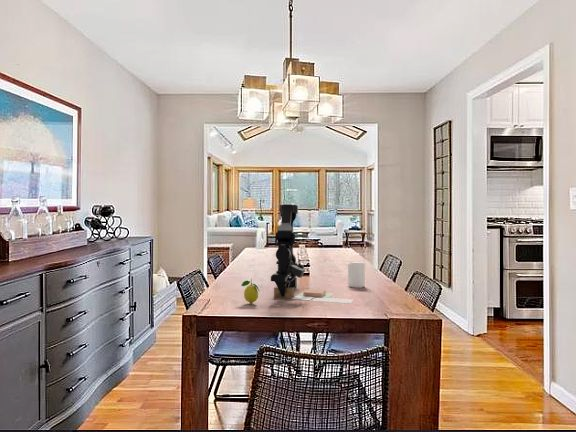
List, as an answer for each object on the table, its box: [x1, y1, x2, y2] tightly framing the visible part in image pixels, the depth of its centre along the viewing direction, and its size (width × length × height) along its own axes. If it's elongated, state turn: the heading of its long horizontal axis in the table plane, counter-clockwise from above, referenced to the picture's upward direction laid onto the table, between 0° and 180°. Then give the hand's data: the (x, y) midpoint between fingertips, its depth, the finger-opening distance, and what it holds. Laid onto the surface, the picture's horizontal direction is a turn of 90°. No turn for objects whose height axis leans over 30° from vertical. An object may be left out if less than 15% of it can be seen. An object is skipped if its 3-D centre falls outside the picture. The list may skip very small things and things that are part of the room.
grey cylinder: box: [347, 260, 366, 289], centre depth 250 cm, size 8×8×12 cm
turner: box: [273, 285, 315, 302], centre depth 217 cm, size 16×7×4 cm, turn 73°
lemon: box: [241, 278, 261, 305], centre depth 206 cm, size 7×6×10 cm
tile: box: [302, 288, 327, 298], centre depth 224 cm, size 8×2×8 cm
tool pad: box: [311, 297, 355, 304], centre depth 213 cm, size 16×8×1 cm, turn 73°
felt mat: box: [296, 290, 335, 298], centre depth 225 cm, size 14×12×1 cm
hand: (284, 295), depth 219 cm, fingers closed on turner, 3 cm apart
